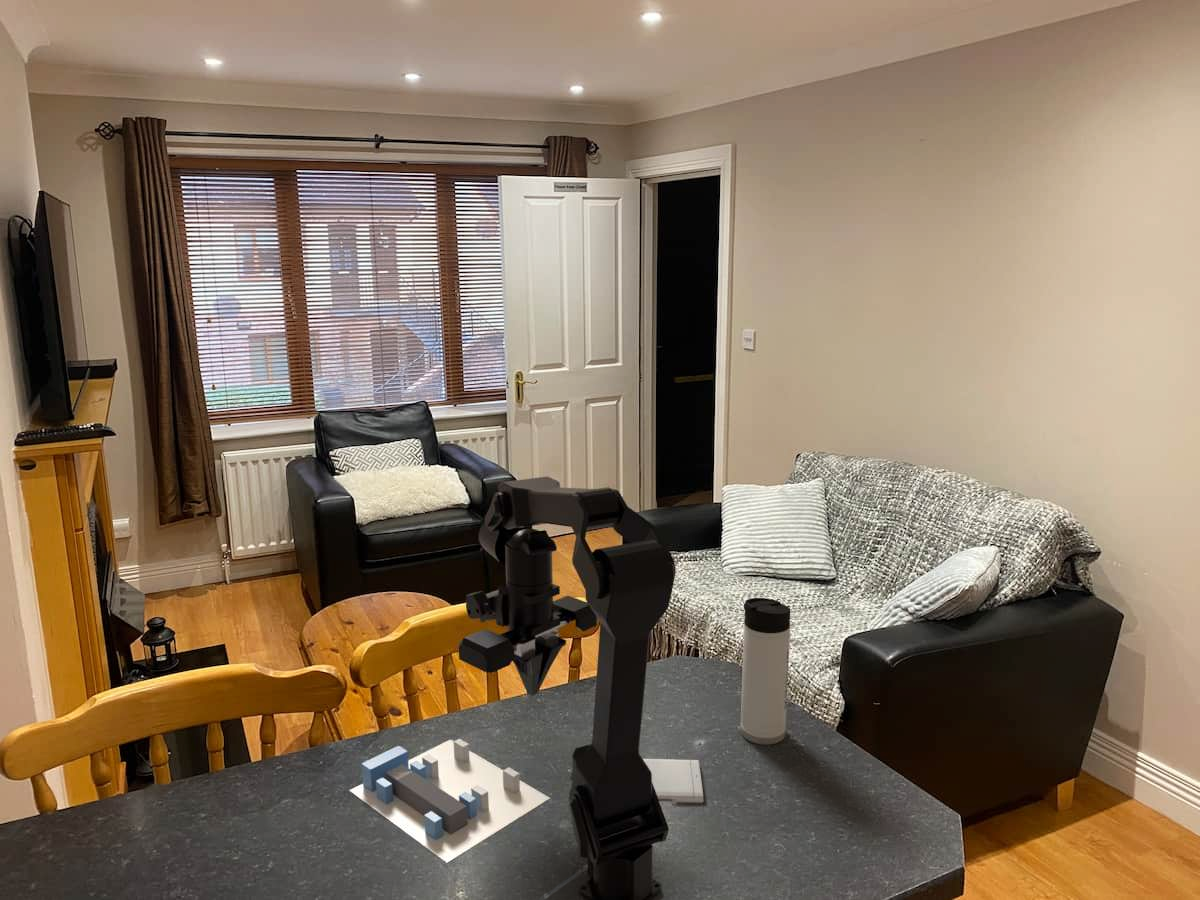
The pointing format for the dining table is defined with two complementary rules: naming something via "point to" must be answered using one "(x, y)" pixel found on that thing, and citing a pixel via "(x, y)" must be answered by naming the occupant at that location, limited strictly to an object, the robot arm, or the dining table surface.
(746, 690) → the travel mug
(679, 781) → the hard drive
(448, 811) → the dark grey bar
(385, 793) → the board
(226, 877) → the dining table surface
